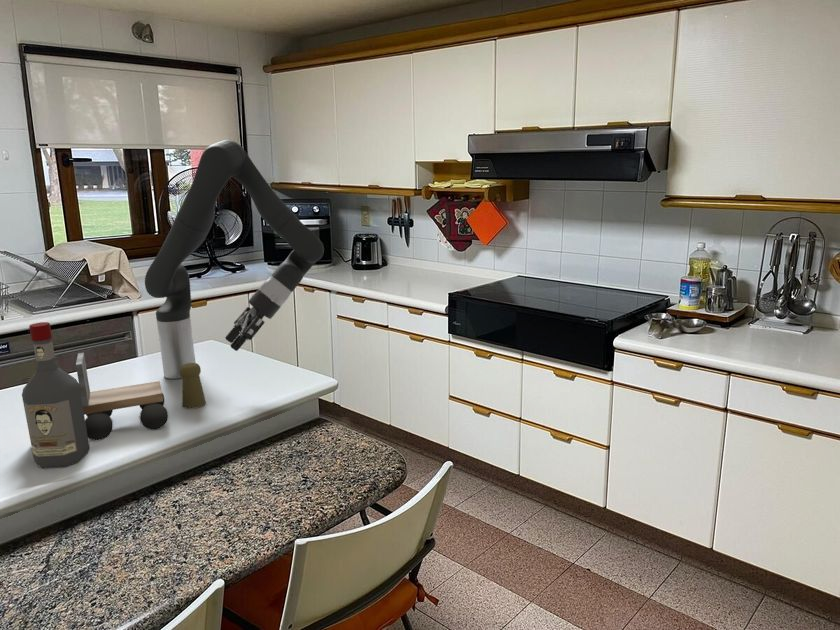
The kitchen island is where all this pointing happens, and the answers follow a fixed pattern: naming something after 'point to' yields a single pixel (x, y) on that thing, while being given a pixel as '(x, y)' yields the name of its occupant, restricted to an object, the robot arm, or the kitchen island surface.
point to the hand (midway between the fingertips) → (230, 344)
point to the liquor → (53, 407)
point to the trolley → (119, 403)
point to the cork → (191, 386)
